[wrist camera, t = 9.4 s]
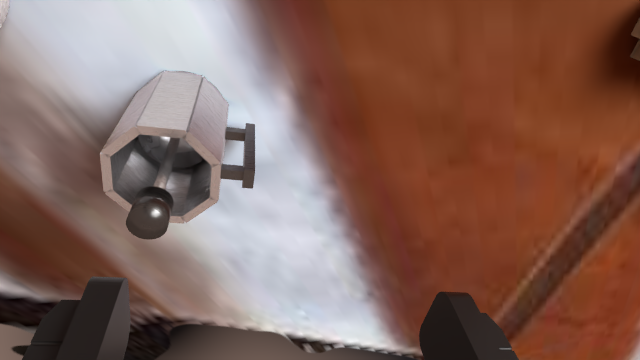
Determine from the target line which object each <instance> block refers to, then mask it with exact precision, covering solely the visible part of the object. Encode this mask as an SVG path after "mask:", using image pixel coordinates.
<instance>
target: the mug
mask: <svg viewBox="0 0 640 360" xmlns="http://www.w3.org/2000/svg"><path fill="white" fill-rule="evenodd" d="M8 9H9V0H0V28H1V26H2V23H3V22H4V21H5V17H6V16H7V14H8Z"/></svg>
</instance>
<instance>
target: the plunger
mask: <svg viewBox="0 0 640 360" xmlns="http://www.w3.org/2000/svg"><path fill="white" fill-rule="evenodd" d="M138 138H139V141H140V144H141V146H142V147H143V149H144V150H145V152H146V153H147V154H148V155H149V156H150V157H152V158H153V159H154V160H156V161H158V162H160V163H161V166H160V168H159V171H158V174H157V177H156V180H155V183H154V185H153V186H149V187H145V188H143V189H141V190H140V191H139V192H138V193H137V194H136V197H135V199H134V202H133V204H132V207H131V209H130V212H129V214H128V217H127V219H126V225H127V228H128V230H129V231H130V232H131V233H132V234H133V235H135V236H137V237H139V238H142V239H156V238H159V237H161V236H162V235H164V234H165V232H166V231H167V228H168V224H169V220H170V216H171V212H172V209H173V205H174V200H173V197H172V196H171V194H170V193H169V192H168V191H166V190H165V188H166V185H167V182H168V178H169V175H170V172H171V169H172V167H188V166H192V165H195V164H197V163H199V162H200V161H202V160H203V159H204V158H203V157H202V156H201V155H200V154H199V153H198V152H197V151H196V150H195V149H194V148H193V147H192V146H191V145H189V144H188V143H187V142H186V141H185V140H184V139H182V138H172V137H162V136H152V135H142V134H139V135H138Z"/></svg>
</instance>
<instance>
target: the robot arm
mask: <svg viewBox="0 0 640 360" xmlns="http://www.w3.org/2000/svg"><path fill="white" fill-rule="evenodd" d="M129 330H130V308H129V291H128V280H127V278H114V277H92V278H91V279H90V280H89V282H88V284H87V286H86V289H85V291H84V293H83V296H82V298H81V300H61V301H60V302H59V303H58V304H57V305H56V306H55V307H54V308H53V309H52V310H51V311H50V312H49V313H48V314H47V315H46V316H45V317H44V318H43V319H42V320H41V322H40V324H39V326H38V328H37V330H36V333H35V335H34V337H33V339H32V341H31V345H30V346H29V347H28V349H27V351H26V353H25V355H24V357H23V359H22V360H123V357H124V353H125V350H126V346H127V342H128V337H129ZM419 340H420V347H421V350H422V353H423V356H424V359H425V360H519V359H518V358H517V356H516V354H515V352H514V351H512V350H511V348H512V347H511V345H510V343H509V342H508V340H507V338H506V336H505V335H504V333H503V331H502V329H501V328H500V327H499V326H498V325H497V324H496V323H495V322H494V321H493V320H492V319H491V318H490V317H489V316H488V315H487V314H486V313H480V311H479V309H478V308H477V306H476V304H475V302H474V300H473V299H472V297H471V296H470V295H469V294H468V293H460V292H439V293H438V294H437V295H436V297H435V299H434V301H433V303H432V305H431V307H430V309H429V311H428V313H427V315H426V317H425V319H424V321H423V323H422V325H421V328H420V334H419Z"/></svg>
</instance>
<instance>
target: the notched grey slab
mask: <svg viewBox="0 0 640 360" xmlns="http://www.w3.org/2000/svg"><path fill="white" fill-rule="evenodd" d="M631 35H632V36H634V37H637V38H640V18H639V20H638V22H637V23H636V25H635V27H634V29H633V31H632V33H631ZM630 57H631V58H634V59H636V60H639V61H640V39H639V40H638V42H637V44H636V46H635V48H634V50H633V52H632V53H631V55H630Z"/></svg>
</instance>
